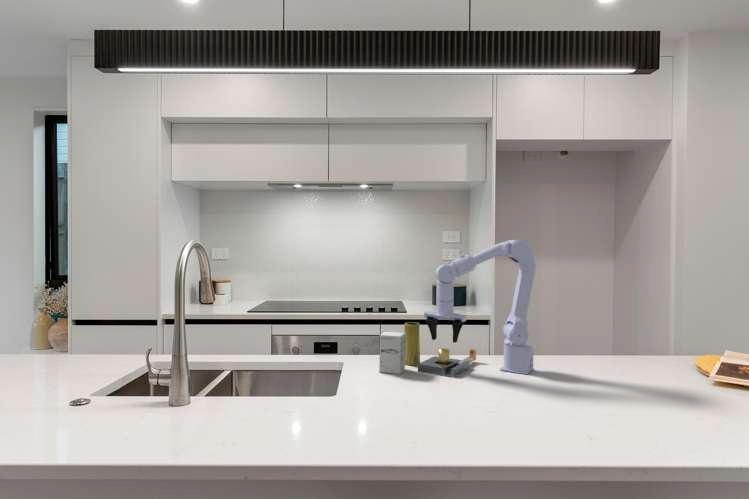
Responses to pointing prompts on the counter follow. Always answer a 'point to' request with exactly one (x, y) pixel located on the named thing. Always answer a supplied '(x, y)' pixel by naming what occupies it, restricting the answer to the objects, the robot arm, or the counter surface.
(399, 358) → the supplement box
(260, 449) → the counter surface
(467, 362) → the socket
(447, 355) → the gold cylinder
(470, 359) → the lock pin
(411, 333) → the vase
